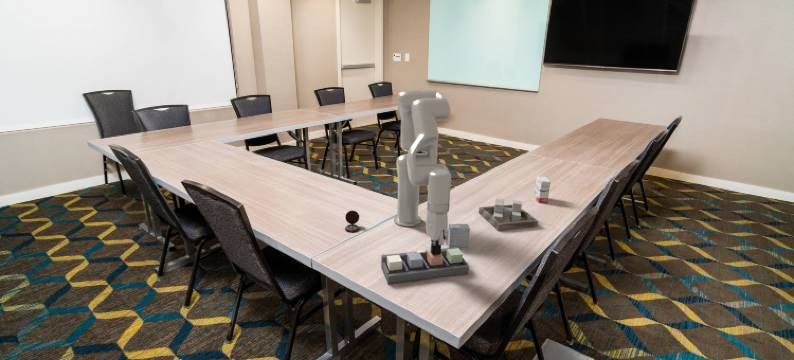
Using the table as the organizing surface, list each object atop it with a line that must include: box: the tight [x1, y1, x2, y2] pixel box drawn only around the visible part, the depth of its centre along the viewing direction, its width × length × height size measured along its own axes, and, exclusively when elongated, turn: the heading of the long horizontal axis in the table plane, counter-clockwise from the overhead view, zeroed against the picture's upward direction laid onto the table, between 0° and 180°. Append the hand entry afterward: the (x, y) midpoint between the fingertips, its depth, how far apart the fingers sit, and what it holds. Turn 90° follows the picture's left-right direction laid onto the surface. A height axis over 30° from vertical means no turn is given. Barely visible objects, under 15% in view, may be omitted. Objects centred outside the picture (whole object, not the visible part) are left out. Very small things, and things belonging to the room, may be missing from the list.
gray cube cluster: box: [493, 197, 523, 223], centre depth 186 cm, size 12×12×8 cm
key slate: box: [407, 253, 423, 268], centre depth 142 cm, size 4×4×3 cm
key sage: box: [446, 247, 464, 263], centre depth 145 cm, size 4×4×3 cm
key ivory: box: [387, 255, 402, 271], centre depth 140 cm, size 4×4×3 cm
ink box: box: [533, 176, 551, 204], centre depth 210 cm, size 9×5×12 cm, turn 179°
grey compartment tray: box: [380, 247, 470, 285], centre depth 143 cm, size 11×30×5 cm, turn 104°
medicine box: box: [447, 223, 471, 248], centre depth 162 cm, size 8×4×9 cm, turn 92°
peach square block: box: [427, 251, 443, 266], centre depth 144 cm, size 4×4×3 cm
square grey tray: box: [478, 203, 539, 232], centre depth 187 cm, size 20×20×3 cm
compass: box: [344, 210, 364, 233], centre depth 174 cm, size 8×8×7 cm
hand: (435, 253), depth 143 cm, fingers closed
